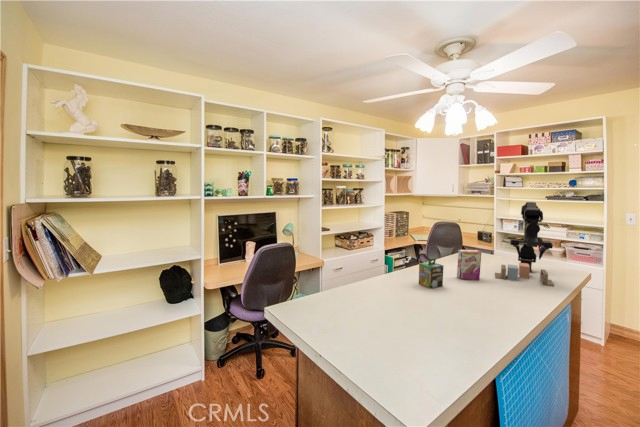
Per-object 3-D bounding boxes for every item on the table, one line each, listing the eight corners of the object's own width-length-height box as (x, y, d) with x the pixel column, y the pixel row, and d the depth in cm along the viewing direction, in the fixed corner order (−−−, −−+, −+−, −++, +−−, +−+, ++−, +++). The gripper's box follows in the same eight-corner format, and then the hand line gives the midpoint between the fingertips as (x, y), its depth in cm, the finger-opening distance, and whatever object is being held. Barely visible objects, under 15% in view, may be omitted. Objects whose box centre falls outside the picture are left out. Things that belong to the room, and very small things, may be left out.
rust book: (518, 273, 176) (519, 262, 175) (527, 275, 173) (528, 263, 173) (519, 277, 169) (520, 265, 168) (529, 278, 166) (529, 267, 166)
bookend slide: (540, 279, 165) (540, 269, 164) (551, 280, 163) (551, 270, 162) (542, 284, 157) (543, 274, 156) (554, 286, 154) (555, 275, 153)
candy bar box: (459, 279, 166) (461, 251, 164) (456, 276, 171) (457, 249, 169) (480, 280, 165) (481, 251, 163) (476, 277, 170) (477, 249, 168)
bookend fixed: (495, 273, 176) (495, 263, 176) (504, 274, 174) (505, 265, 173) (495, 278, 168) (495, 268, 167) (505, 279, 165) (506, 269, 165)
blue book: (507, 275, 172) (508, 264, 172) (516, 276, 170) (517, 265, 169) (507, 279, 165) (508, 267, 165) (517, 280, 163) (518, 268, 162)
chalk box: (430, 281, 164) (431, 255, 162) (443, 286, 155) (444, 259, 154) (417, 283, 160) (418, 257, 158) (430, 288, 151) (431, 261, 150)
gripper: (512, 232, 158) (510, 259, 160) (555, 235, 148) (553, 264, 150) (510, 228, 167) (509, 254, 169) (551, 231, 158) (549, 259, 160)
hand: (529, 258), depth 162 cm, fingers open, 9 cm apart
